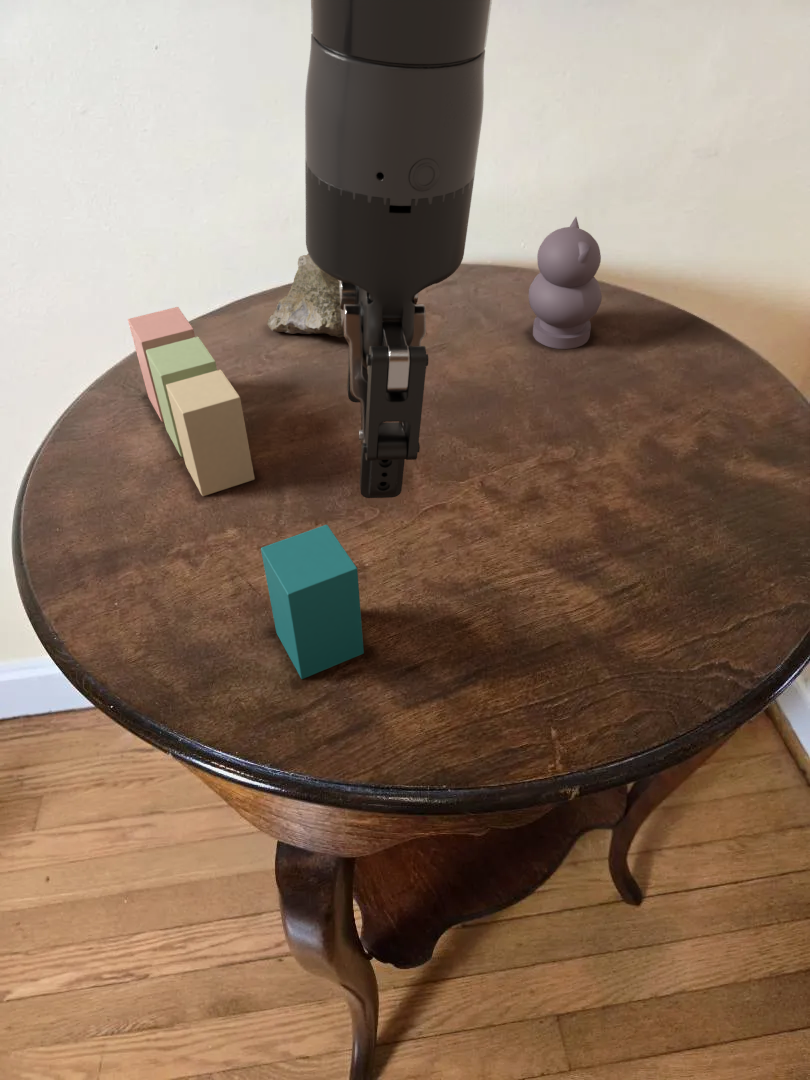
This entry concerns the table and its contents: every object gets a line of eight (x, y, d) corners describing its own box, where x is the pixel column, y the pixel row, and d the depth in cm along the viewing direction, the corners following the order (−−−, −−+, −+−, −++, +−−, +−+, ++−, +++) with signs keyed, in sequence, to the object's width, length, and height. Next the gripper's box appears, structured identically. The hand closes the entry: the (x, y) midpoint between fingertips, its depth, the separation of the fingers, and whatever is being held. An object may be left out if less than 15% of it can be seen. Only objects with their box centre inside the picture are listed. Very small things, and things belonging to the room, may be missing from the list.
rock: (257, 322, 96) (297, 241, 94) (290, 340, 101) (329, 263, 99) (322, 357, 90) (366, 272, 88) (354, 375, 95) (396, 294, 93)
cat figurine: (519, 316, 98) (528, 214, 90) (586, 313, 98) (601, 211, 90) (531, 355, 92) (542, 249, 84) (603, 352, 92) (620, 246, 84)
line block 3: (255, 479, 77) (240, 397, 71) (202, 496, 75) (182, 413, 69) (236, 450, 80) (220, 368, 74) (185, 466, 79) (165, 384, 72)
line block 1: (210, 408, 85) (193, 328, 79) (162, 422, 84) (141, 342, 78) (195, 384, 89) (178, 306, 82) (148, 397, 87) (127, 318, 81)
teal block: (364, 653, 62) (357, 568, 56) (301, 679, 60) (287, 594, 54) (336, 609, 65) (327, 523, 59) (276, 632, 64) (260, 547, 58)
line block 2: (231, 442, 81) (215, 361, 75) (181, 457, 80) (160, 375, 73) (214, 415, 84) (198, 336, 78) (166, 430, 83) (145, 349, 77)
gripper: (299, 95, 41) (301, 373, 53) (313, 227, 32) (312, 533, 43) (449, 101, 42) (419, 372, 54) (508, 231, 33) (456, 528, 44)
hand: (372, 443), depth 48 cm, fingers open, 8 cm apart
